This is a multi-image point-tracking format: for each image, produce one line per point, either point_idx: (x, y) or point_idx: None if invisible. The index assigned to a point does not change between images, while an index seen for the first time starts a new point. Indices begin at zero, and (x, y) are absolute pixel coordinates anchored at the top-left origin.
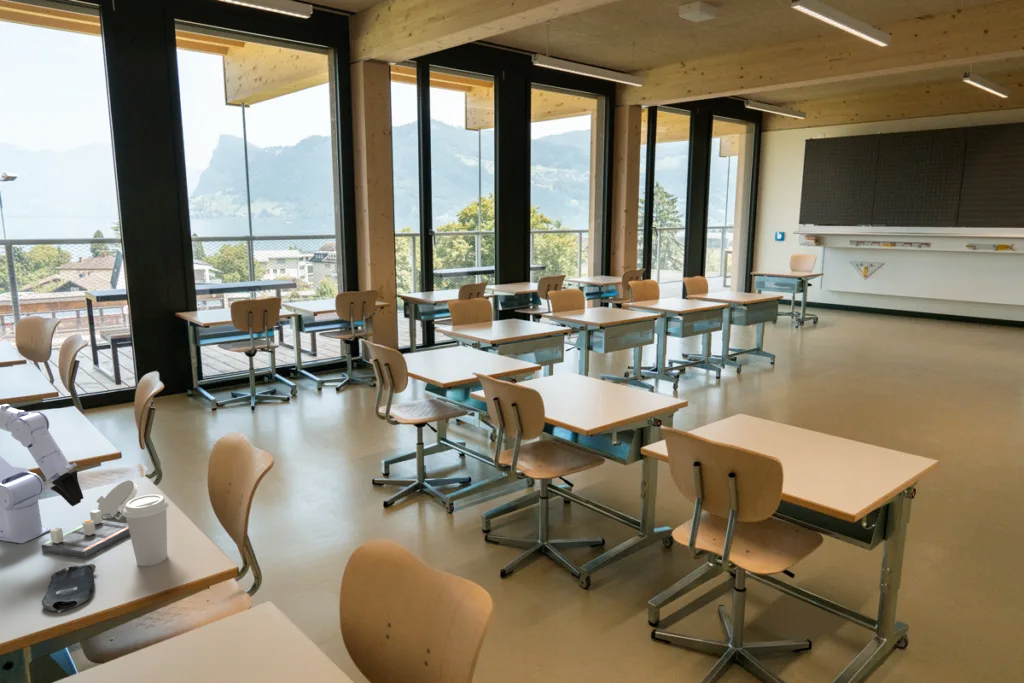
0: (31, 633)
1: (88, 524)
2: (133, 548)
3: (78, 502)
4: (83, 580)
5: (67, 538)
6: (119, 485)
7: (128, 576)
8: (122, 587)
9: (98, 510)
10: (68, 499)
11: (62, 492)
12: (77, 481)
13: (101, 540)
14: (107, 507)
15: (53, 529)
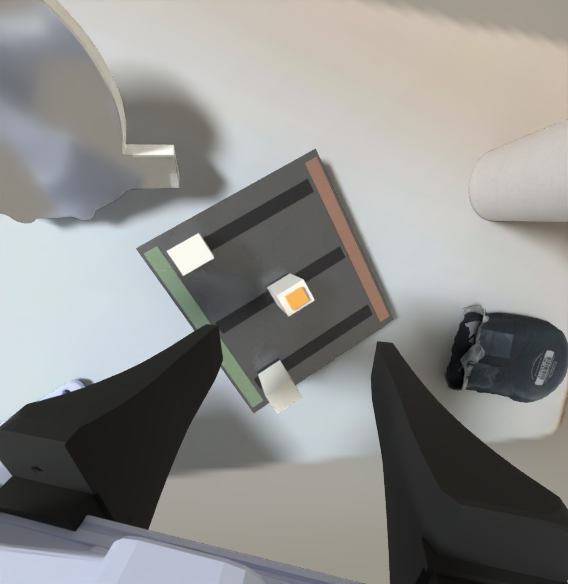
0: (563, 408)
1: (312, 298)
2: (537, 221)
3: (219, 336)
4: (535, 338)
5: (264, 348)
6: None
7: (522, 251)
8: (550, 271)
9: (192, 241)
10: (202, 390)
11: (173, 444)
12: (462, 428)
13: (357, 268)
14: (54, 180)
15: (279, 403)
